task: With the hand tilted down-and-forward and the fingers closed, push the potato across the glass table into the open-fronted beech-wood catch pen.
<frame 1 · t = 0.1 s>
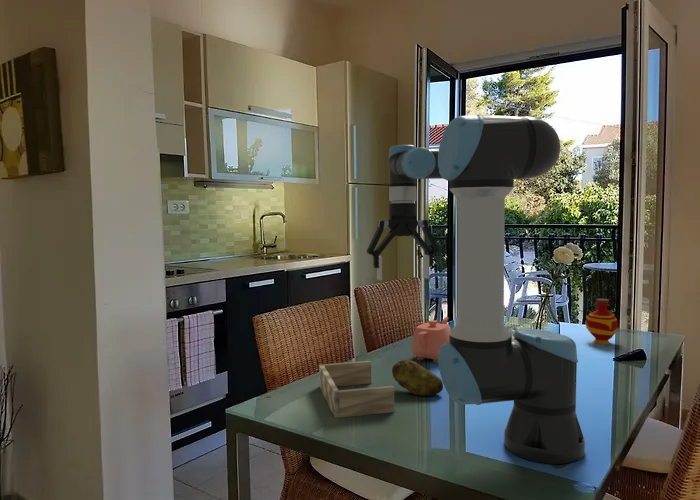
hand: (403, 279, 151), 28 cm above the table, tool pointing down, fingers open, 13 cm apart
catch pen: (356, 398, 137), on the table
teapot: (434, 358, 172), on the table
potato: (416, 393, 140), on the table
red yellow vase: (601, 342, 187), on the table
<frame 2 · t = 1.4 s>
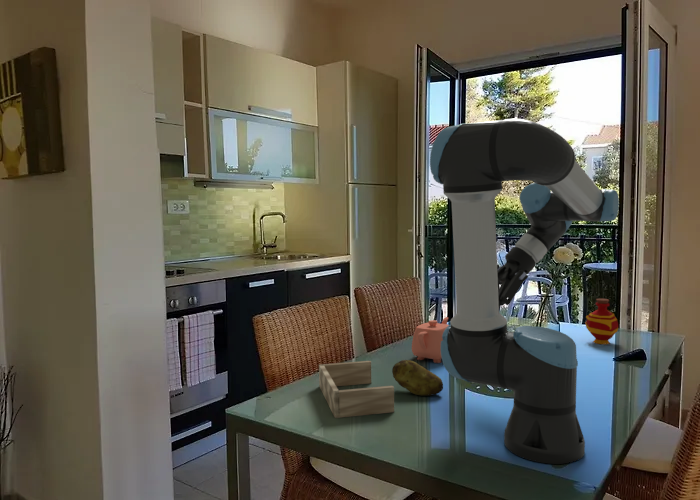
hand: (470, 316, 142), 19 cm above the table, tool tilted 45°, fingers open, 10 cm apart
nothing on the table moved.
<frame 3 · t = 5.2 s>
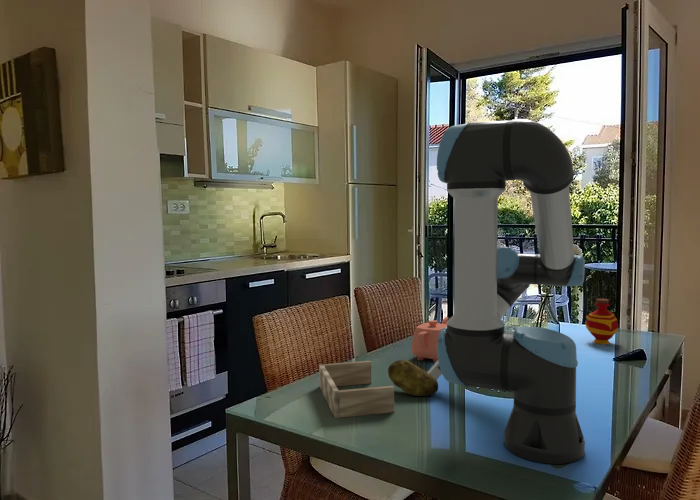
hand: (430, 378, 142), 3 cm above the table, tool tilted 45°, fingers closed
potato: (412, 393, 140), on the table
everything else where it was.
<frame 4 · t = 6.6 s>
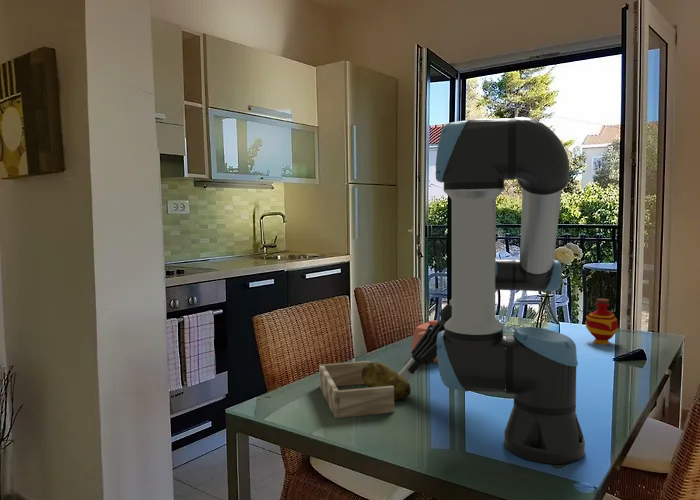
hand: (400, 380, 141), 3 cm above the table, tool tilted 45°, fingers closed
potato: (385, 396, 138), on the table, touching gripper
everything else where it was.
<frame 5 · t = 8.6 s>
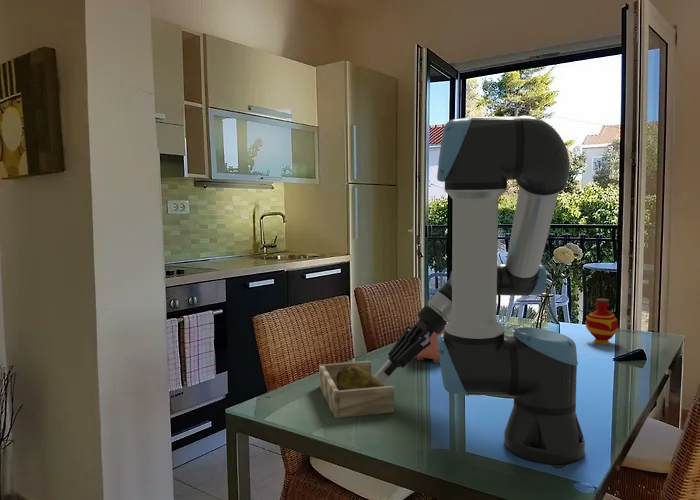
hand: (375, 382, 138), 4 cm above the table, tool tilted 45°, fingers closed
potato: (361, 400, 135), on the table, touching gripper
everything else where it was.
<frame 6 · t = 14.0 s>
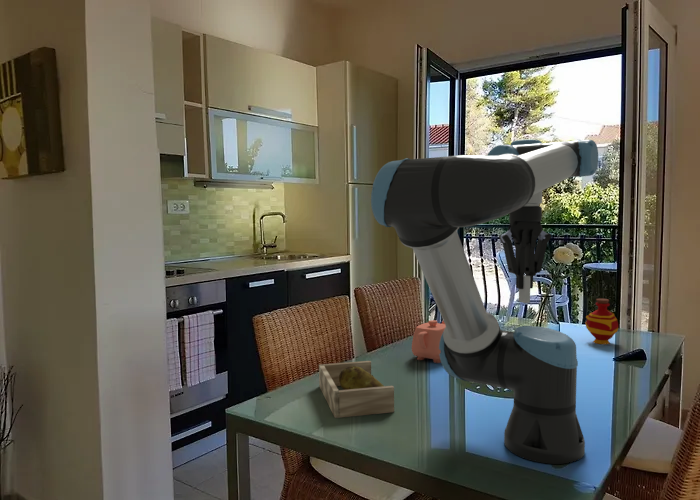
hand: (524, 301, 133), 24 cm above the table, tool pointing down, fingers closed
potato: (362, 401, 135), on the table
everything else where it was.
at the end: potato inside the target area (2.1 cm from its centre), on the table; potato moved 15.1 cm from its start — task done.
